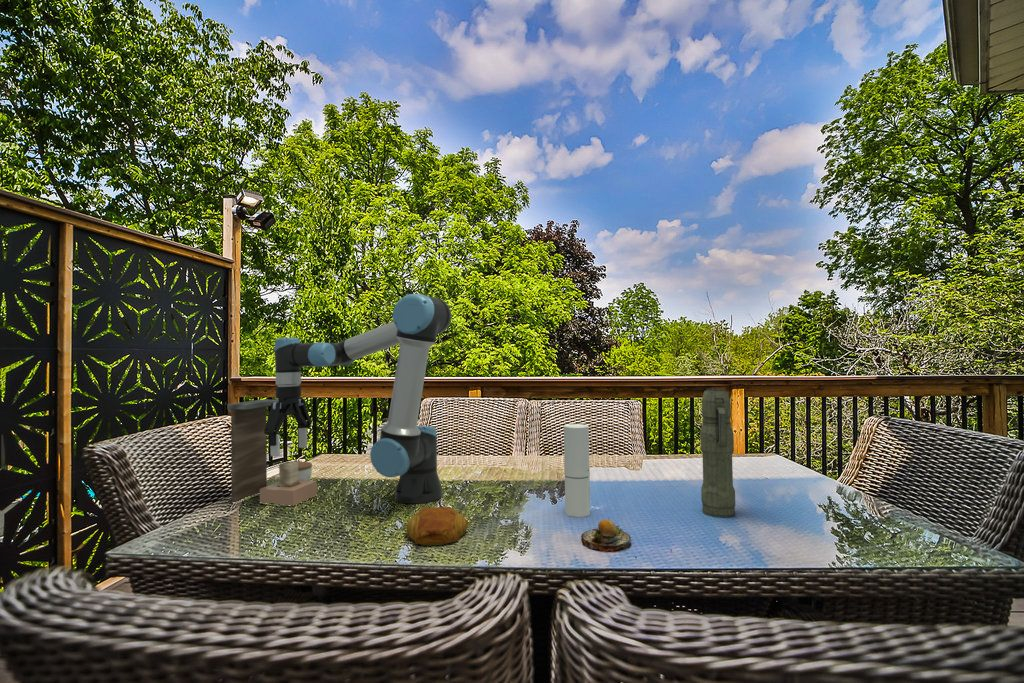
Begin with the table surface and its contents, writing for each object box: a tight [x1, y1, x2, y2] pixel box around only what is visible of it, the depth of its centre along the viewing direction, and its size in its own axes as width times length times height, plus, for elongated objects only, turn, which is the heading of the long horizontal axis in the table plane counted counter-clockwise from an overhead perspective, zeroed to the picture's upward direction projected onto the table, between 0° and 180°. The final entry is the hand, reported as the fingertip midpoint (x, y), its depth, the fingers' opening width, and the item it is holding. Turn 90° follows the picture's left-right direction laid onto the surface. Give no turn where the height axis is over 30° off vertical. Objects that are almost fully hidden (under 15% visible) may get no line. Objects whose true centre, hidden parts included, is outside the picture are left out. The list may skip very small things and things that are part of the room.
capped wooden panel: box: [226, 399, 279, 503], centre depth 166 cm, size 7×16×32 cm, turn 167°
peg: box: [278, 461, 299, 488], centre depth 163 cm, size 4×4×12 cm
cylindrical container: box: [563, 423, 591, 518], centre depth 146 cm, size 7×7×25 cm
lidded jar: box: [293, 459, 313, 481], centre depth 180 cm, size 11×11×9 cm
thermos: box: [699, 388, 736, 518], centre depth 145 cm, size 9×12×35 cm
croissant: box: [406, 506, 469, 546], centre depth 129 cm, size 14×16×8 cm
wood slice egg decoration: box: [580, 518, 632, 553], centre depth 123 cm, size 12×12×8 cm
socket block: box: [259, 480, 318, 506], centre depth 163 cm, size 12×12×5 cm
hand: (289, 451), depth 163 cm, fingers open, 13 cm apart
